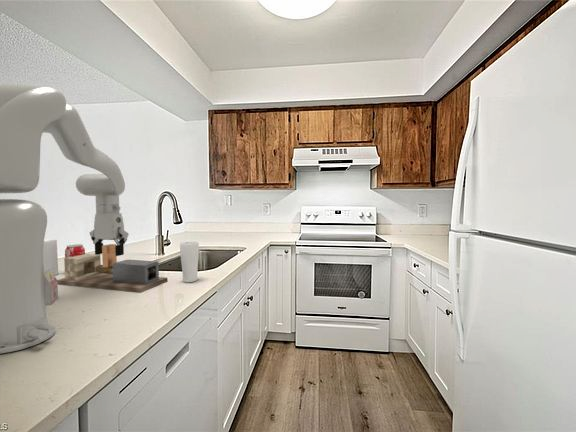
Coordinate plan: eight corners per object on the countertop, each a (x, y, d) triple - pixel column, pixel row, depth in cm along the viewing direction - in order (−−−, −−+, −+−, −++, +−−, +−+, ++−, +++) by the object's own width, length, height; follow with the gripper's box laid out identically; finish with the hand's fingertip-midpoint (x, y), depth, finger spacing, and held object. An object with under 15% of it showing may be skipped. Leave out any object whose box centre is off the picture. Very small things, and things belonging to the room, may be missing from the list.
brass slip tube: (151, 275, 108) (150, 245, 107) (143, 278, 104) (142, 247, 104) (104, 271, 114) (103, 243, 113) (95, 274, 110) (93, 245, 109)
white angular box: (35, 306, 86) (34, 273, 85) (43, 299, 92) (42, 268, 92) (51, 304, 87) (49, 272, 87) (58, 297, 94) (56, 267, 93)
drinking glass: (177, 282, 112) (176, 243, 111) (190, 277, 118) (189, 241, 117) (189, 284, 108) (189, 244, 108) (202, 279, 114) (202, 242, 114)
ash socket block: (101, 273, 118) (100, 254, 118) (77, 280, 108) (76, 259, 108) (89, 272, 120) (88, 253, 119) (65, 279, 110) (64, 258, 110)
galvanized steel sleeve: (158, 279, 109) (158, 261, 109) (145, 285, 102) (144, 265, 102) (128, 277, 113) (127, 259, 112) (113, 282, 106) (112, 263, 106)
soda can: (61, 274, 123) (60, 246, 122) (77, 270, 130) (76, 243, 129) (73, 275, 121) (72, 247, 120) (89, 271, 128) (88, 244, 127)
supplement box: (59, 274, 123) (57, 239, 122) (34, 280, 114) (32, 242, 113) (46, 272, 126) (44, 238, 125) (20, 277, 118) (18, 241, 117)
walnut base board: (167, 281, 112) (167, 277, 112) (140, 292, 99) (140, 288, 99) (90, 274, 122) (90, 271, 122) (55, 284, 109) (55, 280, 109)
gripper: (134, 209, 111) (135, 254, 111) (98, 208, 115) (100, 251, 116) (118, 210, 103) (119, 257, 104) (80, 209, 108) (82, 255, 109)
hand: (109, 254), depth 110 cm, fingers open, 9 cm apart
